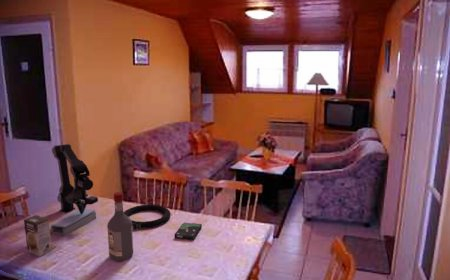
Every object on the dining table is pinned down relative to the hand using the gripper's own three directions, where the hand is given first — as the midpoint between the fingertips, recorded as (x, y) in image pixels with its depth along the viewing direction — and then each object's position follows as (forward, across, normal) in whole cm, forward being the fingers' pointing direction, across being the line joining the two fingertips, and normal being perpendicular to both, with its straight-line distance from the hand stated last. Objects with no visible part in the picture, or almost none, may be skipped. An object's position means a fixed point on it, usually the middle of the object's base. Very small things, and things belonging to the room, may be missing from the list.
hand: (81, 213), depth 192 cm
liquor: (+7, +42, -21) cm, 47 cm away
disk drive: (+7, +60, +11) cm, 61 cm away
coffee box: (+7, +4, -32) cm, 32 cm away
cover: (+1, -1, -5) cm, 5 cm away
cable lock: (+6, +29, +17) cm, 34 cm away
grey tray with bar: (+5, -1, -5) cm, 7 cm away
